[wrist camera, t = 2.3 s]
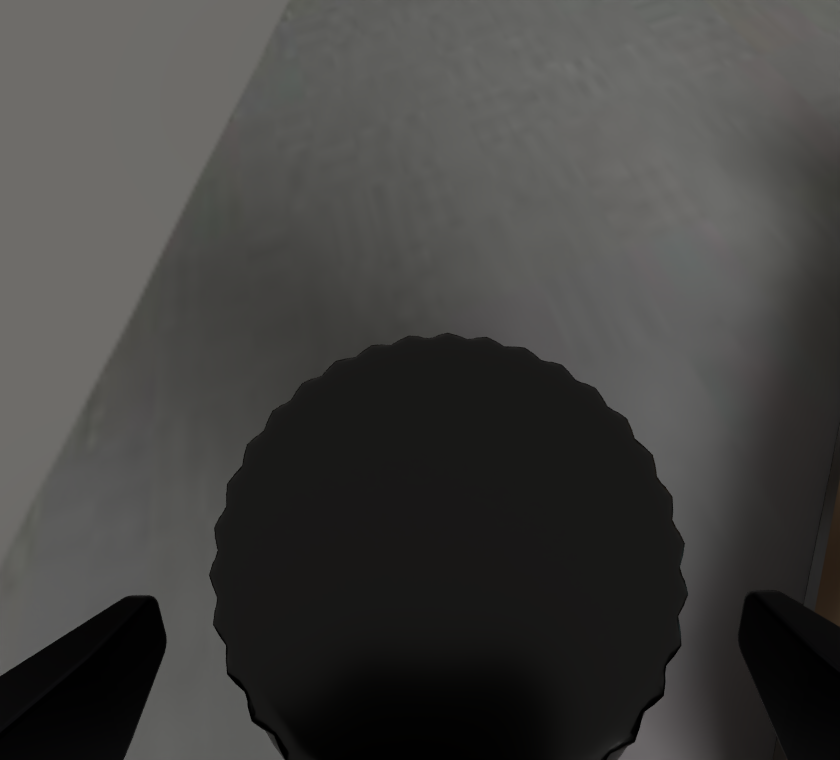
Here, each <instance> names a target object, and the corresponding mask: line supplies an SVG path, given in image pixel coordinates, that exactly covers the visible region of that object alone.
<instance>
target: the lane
mask: <svg viewBox="0 0 840 760" xmlns="http://www.w3.org/2000/svg"><path fill="white" fill-rule="evenodd" d="M804 606H806V607H807V608H809V609H811V610H812V611H814V612H816V613H817V614H819V615H821V616H822V617H824V618H826V619H828V620H829V621H831V622H833V623H834V624H836V625H838V626H839V627H840V425H839V430H838V435H837V440H836V445H835V450H834V455H833V460H832V465H831V470H830V475H829V480H828V485H827V490H826V495H825V500H824V505H823V510H822V515H821V520H820V525H819V530H818V535H817V540H816V545H815V550H814V555H813V560H812V565H811V570H810V575H809V580H808V585H807V590H806V595H805V600H804ZM773 760H787V758H786V756H785V754H784V752H783V749H782V747H781V745H780V743H779V740H778V738H777V741H776V746H775V751H774V756H773Z"/></svg>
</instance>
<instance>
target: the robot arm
mask: <svg viewBox="0 0 840 760" xmlns="http://www.w3.org/2000/svg"><path fill="white" fill-rule="evenodd" d="M738 642H739V647H740V650H741V653H742V656H743V658H744V660H745V663H746V665H747V667H748V670H749V672H750V674H751V677H752V679H753V682H754V684H755V686H756V689H757V691H758V693H759V696H760V698H761V700H762V703H763V705H764V707H765V710H766V712H767V715H768V717H769V719H770V722H771V724H772V726H773V729H774V731H775V733H776V736H777V738H778V740H779V743H780V745H781V747H782V749H783V752H784V754H785V756H786V758H787V760H840V627H839V626H838V625H836V624H834V623H833V622H831V621H829V620H828V619H826V618H824V617H822V616H821V615H819V614H817V613H816V612H814V611H812V610H811V609H809V608H807V607H806V606H804V605H802V604H800V603H799V602H797V601H795V600H794V599H792V598H790V597H789V596H787V595H785V594H783V593H781V592H779V591H774V590H754V591H750V592H748V593H747V595H746V596H745V599H744V604H743V610H742V615H741V620H740V626H739V631H738ZM166 643H167V639H166V632H165V628H164V624H163V620H162V616H161V612H160V608H159V604H158V601H157V600H156V598H155V597H153V596H150V595H132V596H127V597H125V598H123V599H121V600H120V601H118V602H116V603H115V604H113V605H112V606H110V607H109V608H107V609H105V610H104V611H102V612H101V613H99V614H98V615H96V616H94V617H93V618H91V619H90V620H88V621H87V622H85V623H83V624H82V625H80V626H79V627H77V628H75V629H74V630H72V631H71V632H69V633H68V634H66V635H64V636H63V637H61V638H60V639H58V640H57V641H55V642H53V643H52V644H50V645H49V646H47V647H46V648H44V649H42V650H41V651H39V652H38V653H36V654H34V655H33V656H31V657H30V658H28V659H27V660H25V661H23V662H22V663H20V664H19V665H17V666H16V667H14V668H12V669H11V670H9V671H8V672H6V673H4V674H3V675H1V676H0V760H124V757H125V755H126V753H127V750H128V748H129V745H130V743H131V741H132V738H133V735H134V733H135V730H136V728H137V725H138V722H139V720H140V717H141V714H142V712H143V709H144V706H145V704H146V701H147V698H148V696H149V693H150V690H151V688H152V685H153V683H154V680H155V677H156V675H157V672H158V669H159V667H160V664H161V661H162V659H163V656H164V653H165V649H166Z"/></svg>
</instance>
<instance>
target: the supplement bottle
mask: <svg viewBox="0 0 840 760" xmlns="http://www.w3.org/2000/svg"><path fill="white" fill-rule="evenodd" d="M672 517H673V499H672V496H671V494H670V493H669V491H668V490H667V489H666V487H665V486H664V485H663V484H662V483H661V482H660V480H659V479H658V478H657V474H656V467H655V462H654V458H653V455H652V454H651V453H650V452H649V451H648V450H647V449H646V448H645V447H644V446H643V445H642V444H641V443H639V442H638V441H637V440H636V439H635V438H634V435H633V432H632V429H631V427H630V425H629V422H628V420H627V418H625V417H624V416H623V415H621V414H620V413H618V412H616V411H614V410H612V409H611V408H609V407H608V406H607V405H606V403H605V401H604V400H603V398H602V396H601V395H600V393H599V392H598V390H597V389H596V388H594V387H592V386H590V385H588V384H585V383H581V382H579V381H577V380H575V379H574V377H573V376H572V375H571V374H570V373H569V371H568V370H567V369H566V368H565V367H564V366H563V365H561V364H557V363H554V362H547V361H543V360H540V359H539V358H538V357H537V356H536V355H534V354H533V353H532V352H530V351H529V350H528V349H526V348H523V347H504V346H503V345H501V344H499V343H498V342H496V341H494V340H492V339H490V338H488V337H480V338H474V339H465V338H463V337H460V336H457V335H454V334H450V333H445V334H441V335H438V336H436V337H433V338H422V337H419V336H407V337H405V338H403V339H401V340H399V341H397V342H395V343H394V344H392V345H371V346H370V347H368V348H367V349H365V350H364V351H363V352H361V353H360V354H359V355H358V356H357V357H353V358H347V359H342V360H338V361H335V362H334V363H333V364H332V365H331V366H330V367H329V368H328V369H327V370H326V372H325V373H324V374H323V375H322V376H320V377H317V378H314V379H311V380H308V381H306V382H304V383H302V384H301V386H300V387H299V388H298V390H297V391H296V393H295V394H294V396H293V398H292V399H291V400H290V401H289V402H287V403H286V404H283V405H281V406H279V407H278V408H276V409H275V410H273V411H272V413H271V415H270V417H269V419H268V421H267V424H266V427H265V429H264V431H263V432H261V433H260V434H259V435H258V436H256V437H255V438H254V439H253V440H252V441H250V442H249V443H248V444H247V447H246V450H245V454H244V458H243V464H242V466H241V467H240V469H239V470H238V471H237V472H236V473H235V474H234V476H233V477H232V478H231V479H230V481H229V482H228V483H227V492H226V508H225V510H224V512H223V513H222V515H221V516H220V517H219V519H218V521H217V523H216V525H215V527H214V530H215V540H216V544H217V549H218V551H217V554H216V558H215V560H214V562H213V564H212V567H211V571H210V574H209V576H210V580H211V583H212V586H213V588H214V591H215V593H216V596H217V604H216V608H215V612H214V621H213V625H214V627H215V629H216V631H217V633H218V634H219V636H220V637H221V639H222V640H223V642H224V643H225V644H226V666H227V675H228V676H229V677H230V678H231V679H232V680H233V681H234V683H235V684H236V685H238V686H239V687H240V688H241V689H242V690H243V691H244V692H245V694H246V698H247V702H248V710H249V713H250V717H251V721H252V722H253V723H255V724H256V725H257V726H259V727H260V728H262V729H263V730H265V731H266V733H267V734H268V736H269V738H270V740H271V741H272V743H273V745H274V746H275V748H276V749H277V750H278V752H279V753H280V754H281V756H282V757H283V758H284V760H618V759H619V757H620V756H621V755H622V753H623V752H624V750H625V749H626V748H627V746H629V745H631V744H632V743H634V742H635V740H636V737H637V734H638V731H639V728H640V724H641V720H642V718H643V715H644V713H645V711H646V710H647V709H649V708H650V707H652V706H653V705H654V704H655V703H657V702H658V701H659V700H660V699H661V698H662V697H663V696H664V689H665V671H666V665H667V664H668V663H669V662H670V661H671V659H672V658H673V657H674V656H675V654H676V653H677V651H678V650H679V648H680V647H681V631H680V625H679V618H678V616H679V614H680V612H681V610H682V608H683V606H684V604H685V601H686V598H687V596H688V591H687V587H686V584H685V580H684V578H683V576H682V573H681V569H680V565H681V561H682V557H683V552H684V545H685V543H684V541H683V539H682V537H681V535H680V533H679V531H678V530H677V528H676V527H675V525H674V522H673V520H672Z"/></svg>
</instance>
